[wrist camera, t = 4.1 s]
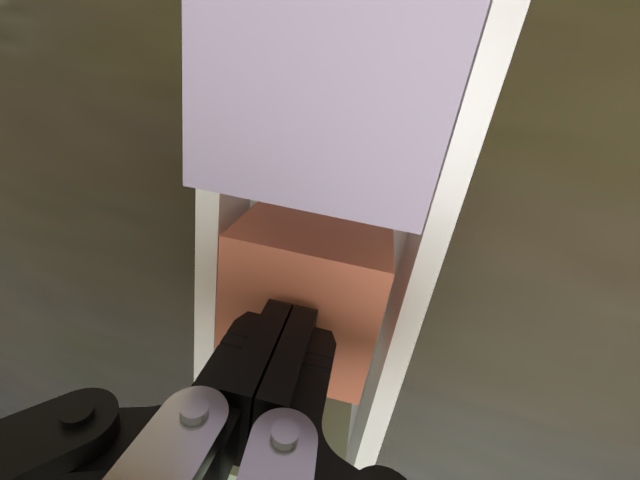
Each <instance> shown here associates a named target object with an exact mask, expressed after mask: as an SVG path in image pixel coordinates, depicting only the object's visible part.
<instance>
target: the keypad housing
mask: <svg viewBox="0 0 640 480" xmlns="http://www.w3.org/2000/svg"><path fill="white" fill-rule="evenodd" d="M530 1H531V0H490V3H489V7H488V10H487V13H486V17H485V20H484V24H483V27H482V30H481V34H480V37H479V40H478V44H477V47H476V51H475V54H474V57H473V61H472V64H471V67H470V71H469V74H468V78H467V81H466V84H465V88H464V91H463V94H462V98H461V101H460V105H459V108H458V111H457V115H456V118H455V121H454V125H453V128H452V132H451V135H450V138H449V142H448V145H447V148H446V152H445V155H444V159H443V162H442V165H441V169H440V172H439V175H438V179H437V182H436V186H435V189H434V192H433V196H432V199H431V202H430V206H429V209H428V213H427V216H426V219H425V223H424V226H423V229H422V233H421V235H419V234H414V233H409V232H404V231H399V230H395V229H393V235H394V262H395V276H394V279H393V283H392V287H391V290H390V294H389V298H388V301H387V305H386V308H385V312H384V316H383V319H382V323H381V326H380V330H379V334H378V337H377V341H376V344H375V348H374V352H373V355H372V359H371V362H370V366H369V370H368V373H367V377H366V381H365V384H364V388H363V391H362V395H361V399H360V402H359V405H355V404H352V409H351V418H350V427H349V436H348V445H347V454H346V462H348V463H350V464H351V465H353V466H354V467H356V468H357V469H359V470H361V469H362V468H364V467H367V466H372V465H375V463H376V460H377V457H378V454H379V451H380V448H381V445H382V442H383V439H384V436H385V433H386V430H387V427H388V424H389V421H390V418H391V415H392V412H393V409H394V406H395V403H396V400H397V397H398V394H399V391H400V388H401V385H402V382H403V379H404V376H405V373H406V370H407V367H408V364H409V361H410V358H411V355H412V352H413V350H414V347H415V344H416V341H417V338H418V335H419V332H420V329H421V326H422V323H423V320H424V317H425V314H426V311H427V308H428V305H429V302H430V299H431V296H432V293H433V290H434V287H435V284H436V281H437V278H438V275H439V272H440V269H441V266H442V263H443V260H444V257H445V254H446V251H447V248H448V245H449V242H450V239H451V236H452V233H453V230H454V227H455V224H456V221H457V218H458V215H459V213H460V210H461V207H462V204H463V201H464V198H465V195H466V192H467V189H468V186H469V183H470V180H471V177H472V174H473V171H474V168H475V165H476V162H477V159H478V156H479V153H480V150H481V147H482V144H483V141H484V138H485V135H486V132H487V129H488V126H489V123H490V120H491V117H492V114H493V111H494V108H495V105H496V102H497V99H498V96H499V93H500V90H501V87H502V84H503V81H504V78H505V75H506V73H507V70H508V67H509V64H510V61H511V58H512V55H513V52H514V49H515V46H516V43H517V40H518V37H519V34H520V31H521V28H522V25H523V22H524V19H525V16H526V13H527V10H528V7H529V4H530ZM257 202H258V201H254V200H250V199H245V198H240V197H235V196H230V195H225V194H221V193H216V192H211V191H206V190H201V189H196V205H195V311H194V381H195V380H196V378H197V377H198V375H199V374H200V372H201V371H202V369H203V367H204V366H205V364H206V363H207V361H208V360H209V358H210V357H211V355H212V354H213V352H214V351H215V335H216V310H217V285H218V261H219V236H220V235H221V234H222V233H223V232H224V231H226V230H227V229H228V228H229V227H230V226H231V225H232V224H233V223H234V222H236V221H237V220H238V219H239V218H240V217H241V216H242V215H243V214H245V213H246V212H247V211H248V210H249V209H250V208H251V207H252V206H254V205H255V204H256V203H257Z"/></svg>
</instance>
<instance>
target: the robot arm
mask: <svg viewBox="0 0 640 480" xmlns="http://www.w3.org/2000/svg"><path fill="white" fill-rule="evenodd" d="M317 317H318V310H317V309H313V308H309V307H305V306H300V305H296V304H295V305H293V304H291V303H287V302H283V301H278V300H274V299H269V300H268V301H267V303H266V305H265V307H264V308H263V310H262V312H261V314H259V313H254V312H250V311H247V312H246V313H244V314H243V315H241V316H240V317H238V318H236V319H235V320H234V321H233V323H232V324H231V326H230V327H229V329H228V331H227V332H226V335H224V337H223V338H222V340H221V341H220V344H219V345H218V346H217V347H216V349H215V351H214V352H213V354H212V355H211V357H210V358H209V360H208V361H207V363H206V364H205V366H204V367H203V369H202V371H201V372H200V374H199V375H198V377H197V378H196V380H195V381H194V383H193V384H192V386H191V387H188V388H184V389H182V390H180V391H178V392H176V393H174V394H173V395H172V396H170V397H169V398H168V399H167V400H166V401H165V402H164V404H163V405H158V406H152V407H131V408H119V405H118V401H117V399H116V397H115V396H114V395H113V394H112V393H111V392H109V391H107V390H104V389H100V388H84V389H79V390H75V391H72V392H69V393H67V394H64V395H62V396H59V397H56V398H54V399H51V400H49V401H46V402H43V403H41V404H38V405H36V406H33V407H30V408H28V409H25V410H22V411H20V412H17V413H15V414H12V415H9V416H7V417H4V418H2V419H0V480H227V479H228V477H229V474H230V472H231V469H232V467H233V465H234V466H237V467H240V468H239V471H238V475H237V478H236V480H407V479H406V478H405V477H404V476H402V475H401V474H400V473H398V472H397V471H395V470H393V469H391V468H388V467H385V466H380V465H372V466H367V467H364V468H362V469H361V470H359V469H357V468H356V467H354V466H353V465H351V464H350V463H348V462H346V461H345V460H343V459H342V458H341V457H339V456H338V455H337V454H336V453H335V452H334V451H333V450H332V449H331V448H330V446H329V445H328V443H327V441H326V439H325V437H324V435H323V430H322V417H323V412H324V407H325V402H326V397H327V391H328V386H329V381H330V376H331V371H332V366H333V360H334V355H335V350H336V345H337V344H336V341H335V338H334V336H333V333H332V331H330V330H326V329H322V328H318V327H316V322H317Z"/></svg>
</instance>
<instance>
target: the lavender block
mask: <svg viewBox="0 0 640 480" xmlns="http://www.w3.org/2000/svg"><path fill="white" fill-rule="evenodd" d="M489 3H490V0H182V116H183V186H187V187H192V188H196V189H201V190H206V191H211V192H216V193H221V194H225V195H230V196H235V197H240V198H245V199H250V200H254V201H259V202H264V203H269V204H274V205H279V206H283V207H288V208H293V209H298V210H303V211H308V212H312V213H317V214H322V215H327V216H332V217H337V218H341V219H346V220H351V221H356V222H361V223H366V224H370V225H375V226H380V227H385V228H390V229H395V230H399V231H404V232H409V233H414V234H419V235H421V233H422V229H423V226H424V223H425V219H426V216H427V213H428V209H429V206H430V202H431V199H432V196H433V192H434V189H435V186H436V182H437V179H438V175H439V172H440V169H441V165H442V162H443V159H444V155H445V152H446V148H447V145H448V142H449V138H450V135H451V132H452V128H453V125H454V121H455V118H456V115H457V111H458V108H459V105H460V101H461V98H462V94H463V91H464V88H465V84H466V81H467V78H468V74H469V71H470V67H471V64H472V61H473V57H474V54H475V51H476V47H477V44H478V40H479V37H480V34H481V30H482V27H483V24H484V20H485V17H486V13H487V10H488V7H489Z"/></svg>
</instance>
